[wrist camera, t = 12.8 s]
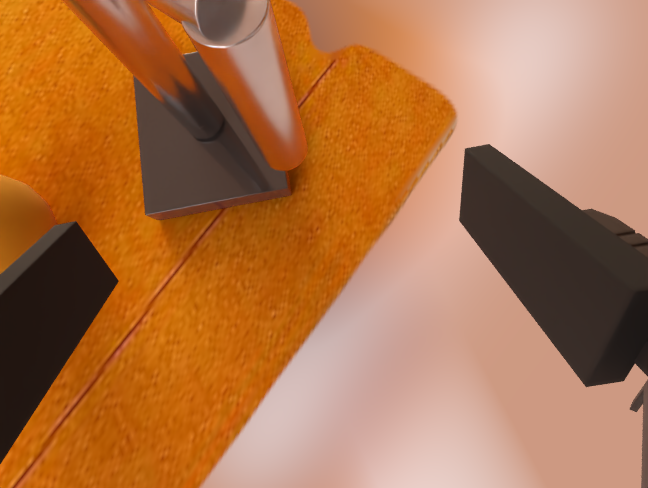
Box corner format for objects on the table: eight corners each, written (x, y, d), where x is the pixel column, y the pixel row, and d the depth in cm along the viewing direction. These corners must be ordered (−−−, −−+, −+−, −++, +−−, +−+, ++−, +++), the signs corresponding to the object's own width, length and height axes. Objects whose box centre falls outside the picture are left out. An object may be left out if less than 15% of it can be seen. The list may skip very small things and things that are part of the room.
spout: (178, 126, 28) (-100, -156, 11) (201, 97, 28) (-32, -225, 11) (302, 211, 26) (212, 39, 9) (326, 179, 27) (284, -51, 9)
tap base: (145, 79, 32) (132, 64, 30) (268, 53, 31) (263, 37, 29) (158, 220, 29) (144, 215, 27) (292, 195, 29) (288, 188, 27)
